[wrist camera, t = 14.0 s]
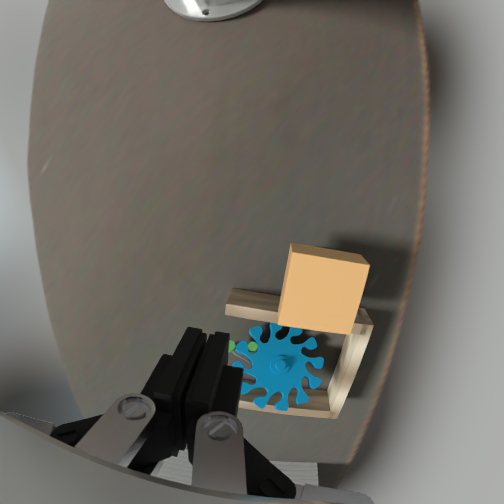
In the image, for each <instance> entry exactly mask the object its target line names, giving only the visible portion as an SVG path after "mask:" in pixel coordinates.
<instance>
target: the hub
mask: <svg viewBox="0 0 504 504" xmlns="http://www.w3.org/2000/svg"><path fill="white" fill-rule="evenodd" d="M369 267H370V265H369V264H368V262H367V261H366V260H365V259H364V258H363V257H362V255H361V254H355V253H350V252H344V251H338V250H332V249H327V248H321V247H315V246H309V245H303V244H297V243H291V245H290V250H289V256H288V261H287V266H286V272H285V277H284V282H283V287H282V292H281V298H280V303H279V308H278V325H282V326H288V327H295V328H302V329H309V330H316V331H324V332H332V333H340V334H348V335H350V333H351V330H352V327H353V324H354V321H355V317H356V314H357V311H358V307H359V304H360V301H361V297H362V294H363V290H364V286H365V283H366V279H367V275H368V271H369Z"/></svg>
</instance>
